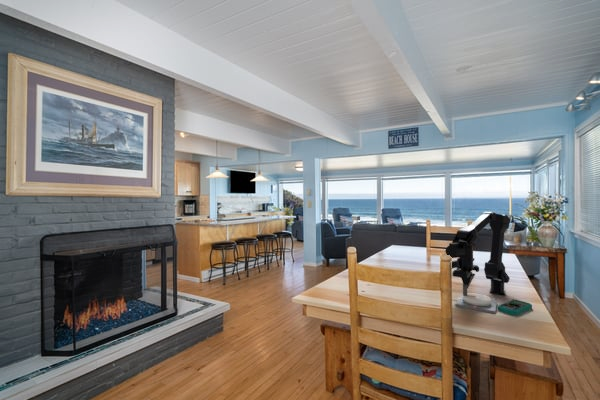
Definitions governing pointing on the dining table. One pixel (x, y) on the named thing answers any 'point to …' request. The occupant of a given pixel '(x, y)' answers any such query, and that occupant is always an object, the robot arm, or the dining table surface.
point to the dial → (475, 298)
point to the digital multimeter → (514, 307)
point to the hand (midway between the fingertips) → (466, 288)
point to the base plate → (489, 308)
